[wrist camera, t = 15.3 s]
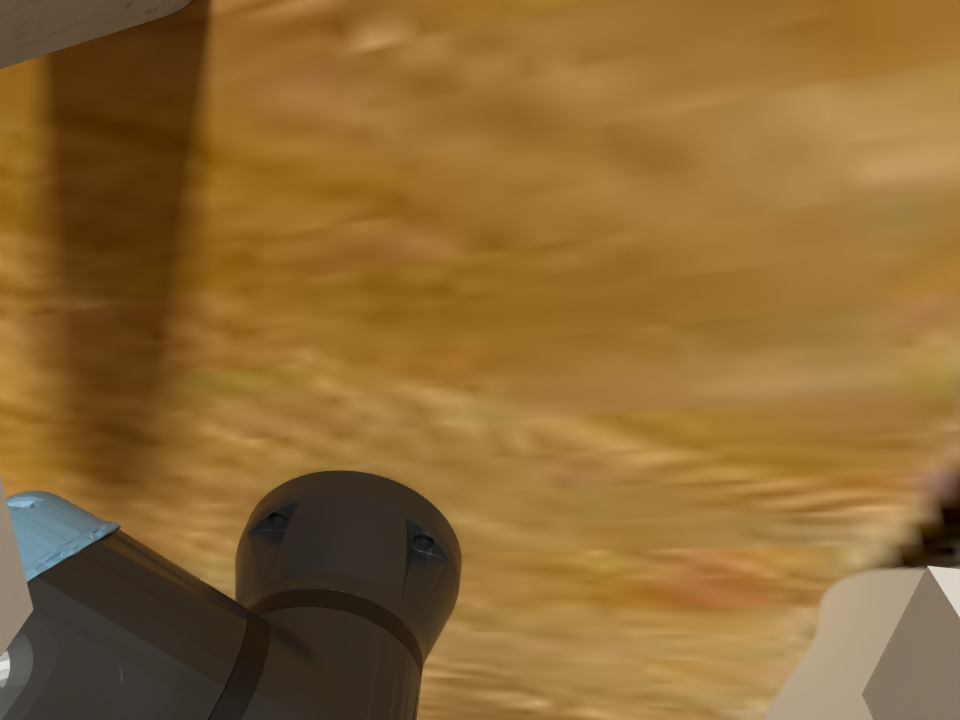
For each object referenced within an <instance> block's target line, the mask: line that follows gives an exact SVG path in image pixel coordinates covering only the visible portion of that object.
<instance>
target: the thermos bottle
mask: <svg viewBox="0 0 960 720" xmlns="http://www.w3.org/2000/svg"><path fill="white" fill-rule="evenodd" d="M190 1H191V0H0V69H2V68H5V67H8V66H11V65H14V64H17V63H21V62H24V61H27V60H30V59H33V58H36V57H39V56H43V55H46V54H49V53H52V52H55V51H58V50H61V49H65V48H68V47H71V46H74V45H77V44H80V43H83V42H87V41H90V40H93V39H96V38H99V37H102V36H105V35H108V34H112V33H115V32H118V31H121V30H124V29H127V28H130V27H134V26H137V25H140V24H143V23H146V22H150V21H153V20H156V19H159V18H162V17H165V16H168V15H171V14H172V13H174V12H176V11H178V10H180V9H182V8H184V7H185V6H186V5H187V4H188V3H189V2H190Z"/></svg>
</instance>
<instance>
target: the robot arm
mask: <svg viewBox="0 0 960 720" xmlns="http://www.w3.org/2000/svg"><path fill="white" fill-rule="evenodd" d="M120 527H121V526H120V525H119V524H117V523H116V522H114V521H110V522H106V521H104V520H102V519H100V518H98V517H96V516H95V515H93V514H91V513H89V512H87V511H85V510H84V509H82V508H80V507H78V506H76V505H74V504H72V503H71V502H69V501H67V500H65V499H63V498H61V497H60V496H58V495H55V494H53V493H49V492H45V491H26V492H21V493H18V494H15V495H13V496H10V497H8V498H6V497H5V492H4V488H3V484H2V480H1V476H0V720H416V719H417V711H418V703H419V694H420V684H421V677H422V670H423V664H424V662H425V660H426V659H427V657H428V655H429V653H430V651H431V650H432V648H433V646H434V644H435V642H436V640H437V639H438V637H439V635H440V633H441V631H442V630H443V628H444V626H445V624H446V622H447V620H448V619H449V617H450V615H451V613H452V611H453V609H454V606H455V603H456V600H457V597H458V593H459V586H460V575H461V552H460V547H459V543H458V540H457V538H456V535H455V533H454V531H453V529H452V527H451V526H450V524H449V523H448V521H447V520H446V518H445V517H444V516H443V515H442V514H441V512H440V511H439V510H438V509H437V508H436V507H435V506H434V505H432V504H431V503H430V502H429V501H428V500H426V499H425V498H424V497H422V496H421V495H420V494H418V493H417V492H415V491H413V490H412V489H410V488H408V487H406V486H404V485H402V484H400V483H397V482H395V481H392V480H390V479H387V478H384V477H380V476H377V475H373V474H368V473H363V472H355V471H325V472H317V473H312V474H308V475H304V476H301V477H298V478H295V479H292V480H290V481H288V482H286V483H284V484H282V485H280V486H278V487H277V488H275V489H274V490H272V491H271V492H270V493H268V494H267V495H266V496H265V497H264V498H263V499H262V500H261V501H260V502H259V503H258V505H257V506H256V507H255V509H254V510H253V512H252V514H251V516H250V518H249V520H248V522H247V525H246V527H245V529H244V531H243V534H242V536H241V539H240V541H239V545H238V548H237V553H236V561H235V595H236V601H234V600H233V599H231V598H229V597H228V596H226V595H225V594H223V593H221V592H220V591H218V590H216V589H215V588H213V587H212V586H210V585H208V584H207V583H205V582H203V581H202V580H200V579H199V578H197V577H195V576H194V575H192V574H190V573H189V572H187V571H186V570H184V569H182V568H181V567H179V566H177V565H176V564H174V563H173V562H171V561H169V560H168V559H166V558H164V557H163V556H161V555H160V554H158V553H156V552H155V551H153V550H151V549H150V548H148V547H147V546H145V545H143V544H142V543H140V542H138V541H137V540H135V539H134V538H132V537H130V536H129V535H127V534H125V533H124V532H122V531H121V530H119V528H120ZM862 695H863V697H864V699H865V702H866V704H867V706H868V708H869V711H870V713H871V715H872V717H873V720H960V569H951V568H941V567H932V566H927V568H926V570H925V572H924V574H923V576H922V578H921V580H920V582H919V584H918V586H917V588H916V590H915V592H914V594H913V595H912V597H911V599H910V601H909V604H908V605H907V607H906V609H905V611H904V613H903V615H902V617H901V619H900V621H899V623H898V625H897V627H896V629H895V631H894V633H893V635H892V637H891V639H890V641H889V642H888V645H887V647H886V648H885V650H884V652H883V654H882V656H881V658H880V660H879V662H878V664H877V666H876V668H875V670H874V672H873V674H872V676H871V678H870V680H869V682H868V684H867V686H866V688H865V689H864V691H863V694H862Z"/></svg>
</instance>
